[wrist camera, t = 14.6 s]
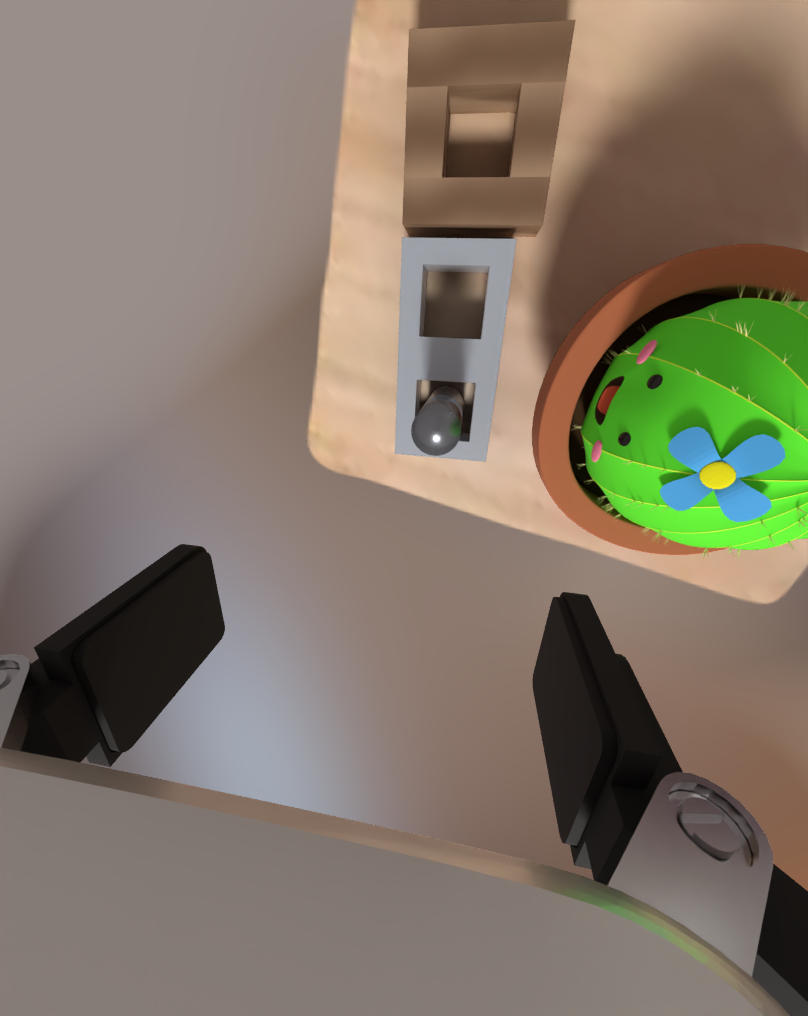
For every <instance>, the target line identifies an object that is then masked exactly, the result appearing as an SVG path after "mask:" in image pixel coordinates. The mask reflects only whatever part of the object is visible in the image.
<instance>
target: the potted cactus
mask: <svg viewBox="0 0 808 1016" xmlns="http://www.w3.org/2000/svg"><path fill="white" fill-rule="evenodd" d="M532 446H533V454H534V459H535V463H536V467H537V469H538V472H539V475H540V477H541V479H542V481H543V483H544V485H545V487H546V489H547V490H548V492H549V494H550V496H551V497H552V499H553V500H554V502H555V503H556V504H557V506H558V507H559V508H560V509H561V510H562V511H563V512H564V513H565V515H566V516H567V517H569V518H570V519H571V520H572V521H573V522H575V523H576V524H577V525H579V526H580V527H582V528H583V529H584V530H586V531H588V532H589V533H591V534H593V535H595V536H597V537H599V538H601V539H603V540H605V541H608V542H610V543H613V544H616V545H619V546H622V547H625V548H629V549H633V550H637V551H642V552H648V553H656V554H667V555H687V554H699V553H707V555H708V552H713V551H718V550H723V549H726V548H729V549H730V552H731V549H732V548H734V549H738V552H737V553H739V551H740V549H742V550H758V549H766V548H772V547H777V546H779V545H782V544H785V543H788V544H790V545H792V544H791V543H790V541H792V540H795V539H805V538H808V253H807V252H804V251H801V250H796V249H792V248H787V247H782V246H773V245H764V244H740V245H728V246H720V247H714V248H709V249H703V250H699V251H696V252H692V253H689V254H685V255H682V256H679V257H677V258H674V259H672V260H669V261H666V262H664V263H661V264H659V265H656V266H654V267H651V268H649V269H646V270H644V271H642V272H640V273H638V274H636V275H634V276H632V277H630V278H629V279H627V280H626V281H624V282H622V283H621V284H619V285H618V286H616V287H615V288H613V289H612V290H611V291H610V292H608V293H607V294H606V295H605V296H603V297H602V298H601V299H600V300H599V301H598V302H597V303H596V304H595V305H593V306H592V307H591V308H590V309H589V310H588V311H587V312H586V314H585V315H584V316H583V317H582V318H581V319H580V320H579V321H578V323H577V324H576V325H575V326H574V328H573V329H572V330H571V332H570V333H569V334H568V336H567V337H566V339H565V340H564V342H563V343H562V345H561V346H560V348H559V350H558V351H557V353H556V355H555V357H554V359H553V360H552V362H551V364H550V366H549V369H548V371H547V373H546V375H545V378H544V380H543V383H542V386H541V389H540V391H539V395H538V399H537V402H536V406H535V412H534V417H533V427H532ZM792 546H793V545H792ZM792 546H791V547H792ZM792 549H793V548H792ZM796 551H797V550H796ZM728 552H729V551H728ZM732 553H733V551H732ZM740 553H741V552H740ZM727 554H728V553H727ZM701 556H702V555H701ZM704 556H705V554H704ZM733 556H734V555H733ZM736 556H737V555H736ZM741 556H742V555H741ZM700 558H701V557H700ZM703 559H704V558H703Z"/></svg>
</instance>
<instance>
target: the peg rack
mask: <svg viewBox="0 0 808 1016" xmlns="http://www.w3.org/2000/svg"><path fill="white" fill-rule="evenodd" d="M515 246H516V239H484V238H408V237H402V257H401V287H400V317H399V347H398V376H397V406H396V436H395V454H403V455H414V456H426V457H438V458H449V459H461V460H472V461H484V462H486V457H487V450H488V443H489V435H490V428H491V421H492V413H493V406H494V399H495V392H496V384H497V377H498V370H499V362H500V355H501V348H502V341H503V333H504V326H505V319H506V312H507V304H508V297H509V290H510V282H511V275H512V268H513V261H514V253H515ZM427 271H431V272H472V273H488V275H487V284H486V293H485V301H484V310H483V319H482V328H481V336H480V339H463V338H441V337H424V320H425V303H426V285H427ZM421 380H433V381H450V382H466V383H475V388H474V397H473V406H472V415H471V423H470V432H469V434H468V433H461V435H460V439H459V441H458V443H457V445H456V446H455V448H454V449H452V450H451V451H450V452H448V453H446V454H444V455H440V456H433V455H428V454H426V453H424V452H422V451H421V450H419V449H418V448H417V446H416V445H415V443H414V442H413V439H412V435H411V426H412V423H413V420H414V418H415V417H416V415H417V414H418V413H419V406H420V389H421Z"/></svg>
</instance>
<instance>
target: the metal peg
mask: <svg viewBox="0 0 808 1016" xmlns="http://www.w3.org/2000/svg"><path fill="white" fill-rule="evenodd" d="M463 406H464V403H463V398H462V396H461V394H460V393H459V392H458V391H457V390H456V389H455V388H452V387H448V386H445V387H440V388H438V389H436V390H435V391H434V392H433V393H432V394H431V396H430V397H429V399H428V400H427V401H426V403H425V404H424V406H423V407H422V408H421V410H420V411H419V413H418V414H417V415H416V417H415V418H414V420H413V423H412V426H411V435H412V439H413V442H414V443H415V445H416V446H417V448H418V449H419V450H421V451H422V452H424V453H426V454H428V455H433V456H440V455H444V454H446V453H448V452H450V451H451V450H452V449H454V448H455V446H456V445H457V443H458V441H459V439H460V435H461V426H462V416H463Z"/></svg>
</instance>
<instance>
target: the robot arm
mask: <svg viewBox="0 0 808 1016" xmlns="http://www.w3.org/2000/svg"><path fill="white" fill-rule="evenodd" d="M224 631H225V625H224V620H223V615H222V610H221V605H220V600H219V595H218V590H217V584H216V580H215V574H214V569H213V565H212V560H211V556H210V554H209V553H207V552H206V550H205V549H204V548H203V547H201V546H193V545H185V544H181V545H179V546H177V547H176V548H174V549H173V550H171V551H170V552H168V553H167V554H166V555H164V556H163V557H161V558H160V559H159V560H157V561H156V562H154V563H153V564H151V565H150V566H149V567H147V568H146V569H144V570H143V571H142V572H140V573H139V574H138V575H136V576H134V577H133V578H132V579H130V580H129V581H127V582H126V583H125V584H123V585H122V586H120V587H119V588H118V589H116V590H115V591H113V592H112V593H110V594H109V595H108V596H106V597H105V598H103V599H102V600H101V601H99V602H98V603H96V604H95V605H93V606H92V607H91V608H89V609H88V610H86V611H85V612H84V613H82V614H81V615H79V616H78V617H77V618H75V619H74V620H72V621H71V622H69V623H68V624H67V625H66V626H64V627H62V628H61V629H60V630H58V631H57V632H55V633H54V634H53V635H51V636H50V637H48V638H47V639H45V640H44V641H43V642H41V643H40V644H38V645H37V646H35V647H34V649H35V650H36V653H37V655H38V657H39V659H38V660H36V661H35V662H33V663H32V664H31V663H30V661H29V660H28V659H27V658H26V657H25V656H21V655H2V656H0V1016H808V891H807V890H805V889H804V888H803V887H802V886H800V885H799V884H798V883H796V882H795V881H794V880H793V879H792V878H790V877H789V876H788V875H787V874H785V873H784V872H783V871H782V870H780V869H779V868H778V867H777V866H775V865H774V864H773V853H772V850H771V847H770V845H769V842H768V839H767V837H766V834H765V833H764V831H763V830H762V829H761V827H760V825H759V824H758V822H757V821H756V820H755V818H754V817H753V816H752V815H751V814H750V812H749V811H748V810H747V809H746V808H745V807H744V806H743V805H742V804H741V803H740V802H739V801H738V800H737V799H735V798H734V797H733V796H731V795H730V794H729V793H728V792H727V791H725V790H724V789H723V788H721V787H720V786H718V785H716V784H714V783H713V782H711V781H709V780H707V779H705V778H703V777H699V776H697V775H694V774H691V773H683V772H682V770H681V768H680V766H679V764H678V762H677V760H676V758H675V756H674V754H673V752H672V749H671V747H670V745H669V743H668V741H667V739H666V737H665V735H664V733H663V731H662V729H661V727H660V725H659V723H658V721H657V719H656V717H655V715H654V713H653V711H652V709H651V707H650V705H649V703H648V701H647V699H646V697H645V695H644V693H643V691H642V689H641V687H640V685H639V683H638V681H637V679H636V677H635V674H634V672H633V670H632V669H631V666H630V664H629V663H628V661H627V660H626V658H625V657H623V656H622V655H620V654H615V652H614V650H613V648H612V645H611V643H610V641H609V639H608V637H607V635H606V632H605V630H604V628H603V626H602V624H601V622H600V620H599V618H598V615H597V613H596V611H595V609H594V607H593V605H592V603H591V600H590V598H589V597H588V596H587V595H583V594H575V593H567V592H563V593H562V594H561V595H560V597H553V600H552V603H551V606H550V611H549V614H548V618H547V622H546V626H545V630H544V634H543V638H542V642H541V646H540V650H539V654H538V658H537V661H536V665H535V669H534V674H533V691H534V697H535V702H536V708H537V713H538V719H539V724H540V729H541V735H542V741H543V746H544V752H545V757H546V763H547V768H548V774H549V779H550V785H551V790H552V795H553V801H554V807H555V812H556V817H557V823H558V828H559V833H560V837H561V840H562V842H563V843H565V844H570V847H571V852H572V856H573V862H574V865H575V866H579V867H584V868H589V869H592V873H593V878H594V880H591V879H589V878H586V877H584V876H580V875H577V874H573V873H570V872H567V871H564V870H560V869H557V868H553V867H550V866H546V865H543V864H540V863H536V862H533V861H529V860H524V859H520V858H516V857H511V856H508V855H503V854H499V853H495V852H491V851H486V850H483V849H478V848H474V847H470V846H466V845H461V844H458V843H453V842H449V841H445V840H441V839H436V838H431V837H427V836H422V835H418V834H413V833H409V832H403V831H399V830H395V829H390V828H386V827H381V826H376V825H372V824H367V823H363V822H358V821H354V820H349V819H345V818H340V817H336V816H331V815H326V814H322V813H317V812H312V811H308V810H303V809H299V808H294V807H289V806H285V805H279V804H275V803H271V802H266V801H261V800H257V799H252V798H247V797H242V796H237V795H233V794H228V793H224V792H219V791H214V790H209V789H205V788H200V787H195V786H190V785H186V784H181V783H176V782H171V781H167V780H162V779H157V778H152V777H147V776H142V775H138V774H133V773H128V772H123V771H118V770H113V769H109V768H104V767H99V766H94V765H89V764H84V763H80V762H81V761H82V760H83V759H84V758H85V757H87V759H88V761H89V762H90V763H94V764H99V765H104V766H108V767H111V766H112V764H113V763H114V762H115V761H116V760H117V758H118V757H119V756H120V755H121V754H122V752H126V751H127V750H129V749H130V748H131V747H132V746H133V745H134V744H135V743H136V742H137V740H138V739H139V738H140V737H141V736H142V734H143V733H144V732H145V731H146V730H147V728H148V727H149V726H150V725H151V724H152V722H153V721H154V720H155V719H156V718H157V716H158V715H159V714H160V713H161V712H162V710H163V709H164V708H165V707H166V705H167V704H168V703H169V702H170V701H171V699H172V698H173V697H174V696H175V695H176V693H177V692H178V691H179V690H180V689H181V687H182V686H183V685H184V684H185V682H186V681H187V680H188V679H189V678H190V676H191V675H192V674H193V673H194V672H195V670H196V669H197V668H198V667H199V665H200V664H201V663H202V662H203V661H204V660H205V658H206V657H207V656H208V655H209V654H210V652H211V651H212V650H213V649H214V647H215V646H216V645H217V644H218V642H219V641H220V640H221V639H222V637H223V635H224Z"/></svg>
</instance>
